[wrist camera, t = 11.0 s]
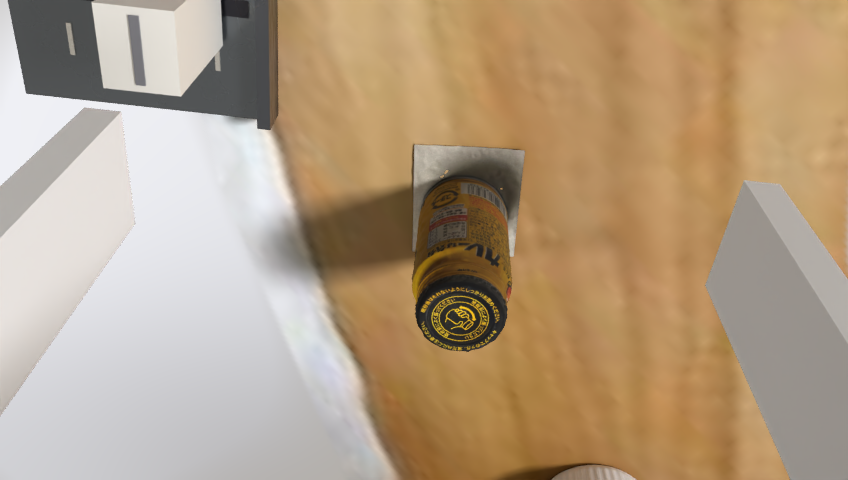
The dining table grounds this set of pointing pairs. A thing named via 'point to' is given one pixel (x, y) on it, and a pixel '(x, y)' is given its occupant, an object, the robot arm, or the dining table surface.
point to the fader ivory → (156, 42)
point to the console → (209, 93)
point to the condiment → (464, 241)
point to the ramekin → (593, 473)
